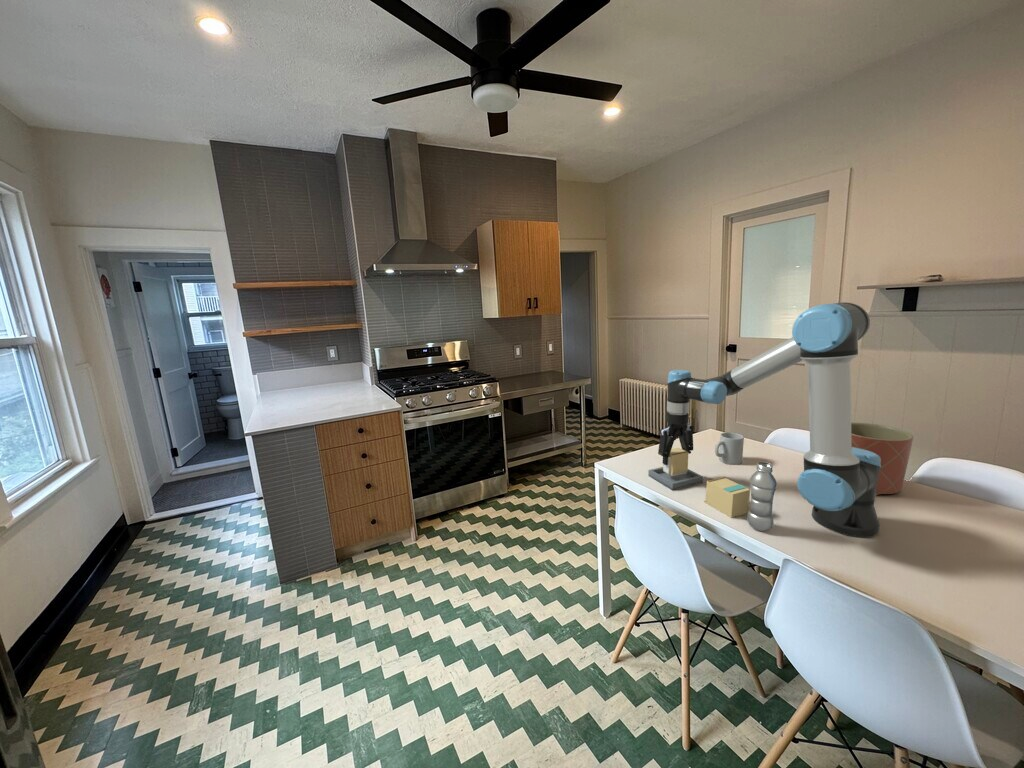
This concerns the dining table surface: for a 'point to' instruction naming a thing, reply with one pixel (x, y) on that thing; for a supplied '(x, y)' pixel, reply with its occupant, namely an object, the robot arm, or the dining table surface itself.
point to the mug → (730, 448)
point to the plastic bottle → (762, 497)
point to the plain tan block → (678, 461)
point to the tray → (675, 478)
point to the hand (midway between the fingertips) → (675, 470)
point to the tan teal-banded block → (727, 496)
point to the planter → (885, 452)
